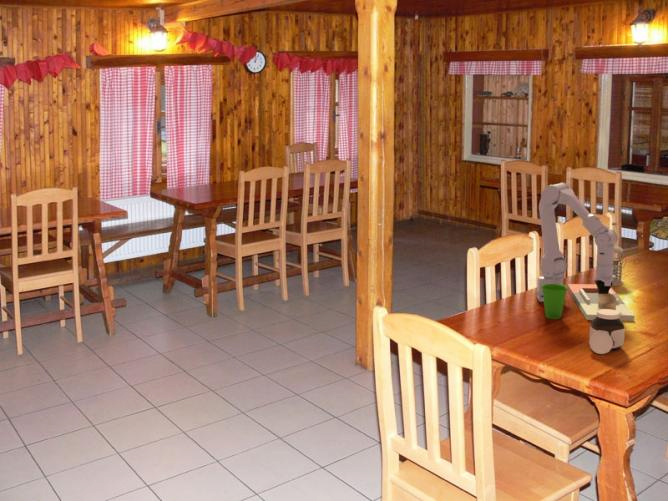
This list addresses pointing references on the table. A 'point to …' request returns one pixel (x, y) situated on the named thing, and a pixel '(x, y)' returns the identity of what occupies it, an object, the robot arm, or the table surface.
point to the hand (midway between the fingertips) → (602, 300)
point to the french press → (615, 264)
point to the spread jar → (606, 331)
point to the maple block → (607, 301)
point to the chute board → (596, 301)
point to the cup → (554, 299)
